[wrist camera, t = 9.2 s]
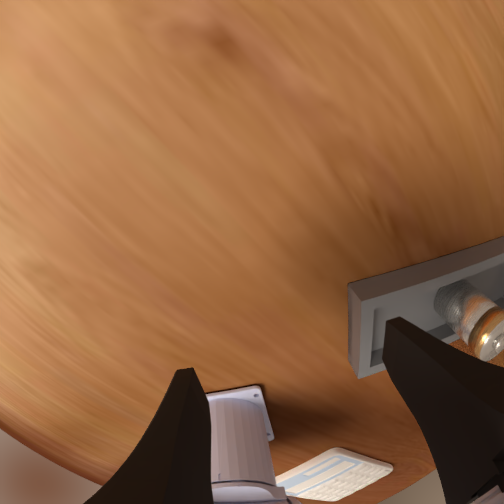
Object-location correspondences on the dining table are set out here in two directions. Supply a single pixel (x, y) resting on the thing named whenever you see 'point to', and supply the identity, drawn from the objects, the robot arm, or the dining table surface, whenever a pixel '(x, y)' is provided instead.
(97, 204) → the dining table surface
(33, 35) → the dining table surface
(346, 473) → the calculator
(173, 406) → the robot arm
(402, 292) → the trough
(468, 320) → the cell
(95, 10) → the dining table surface
